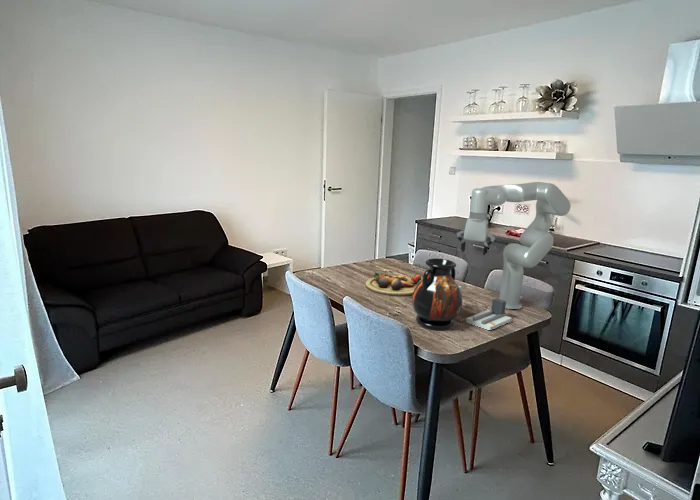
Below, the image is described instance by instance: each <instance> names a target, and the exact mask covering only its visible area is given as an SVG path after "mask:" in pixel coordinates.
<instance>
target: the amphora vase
mask: <svg viewBox="0 0 700 500" xmlns="http://www.w3.org/2000/svg"><path fill="white" fill-rule="evenodd" d="M424 263H425V265H426V266H428V267H429V269H426V270H425V271H424V272H423V275H422V278H421V280H420V281H419V282H418V284H417V285H416V287H415V289H414V292H413V295H411V305H412V309H413V311H414V313H416V317H415V321H416V322H417V324H418V325H419V326H421V327H424V328H425V329H429V330H437V331H442V330H443V331H445V330H448V329H451V328H453V326H454V324H455V321H454V320H455V319H457V317H458V316H459V314H460V313H461V312H462V308H463V296H462V295H463V294H462V291H460V288H459V286H460V285H459V284H458V283H456V281H455V280H456V269H455V268H456V267H457V264H456V262H454V261H452V260H450V259H446V258H428V259H426V260H425V262H424Z"/></svg>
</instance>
